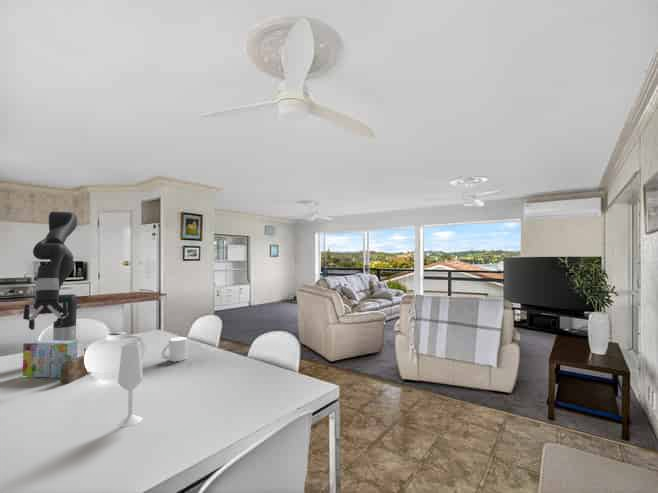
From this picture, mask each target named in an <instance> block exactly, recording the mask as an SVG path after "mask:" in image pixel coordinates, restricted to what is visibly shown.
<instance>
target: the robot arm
mask: <svg viewBox="0 0 658 493" xmlns="http://www.w3.org/2000/svg"><path fill="white" fill-rule="evenodd" d="M77 226H78V216H77V215H76V213H74V212H70V211H51V212H50V213H49V214H48V231H49V232H48V233H47V234H46V236H45V238H44V239H42V240H40V241H38V242H37V243H36V244H35V246H34V247H33V249H32V253H33V256H34V257H35V259H37V260H42V261H43V260H46V261H47V260H49V263H48V264H47V263H46V264H42V265H41V264H40V265H39V266H38V268H37V280H36V284H35V285H36V286H35V300H34V301H35V302H34V304H28V303H27V304H25V305H24V309H23V310H24V311H23V316H22V318H23V320H26V321H27V320H28V329H29V330H31V331H33V330H35V325H36V321H35V319H36V318H37V317H38V316H40V315H46V314H54V315H55V317H57V319H56V320H55V321H53V326H52V327H53V331H52V332H53V333H52V334H53V336H52V337H53V338H52V341H76V358H78V339H77V311H78V297H77V295H76V294H74V293H73V294H72V293H70V294H60V290H61V288H62V287H63V284H64V283H65V281H66V280H67V279H68V277H69V276H70V275H71V273H72V272H73V269H74V255H73V254H72V251H71V250H70V249H69V248H68V247H67V245H66V244H65V242H66V240H67V238H68V237H69V236H70V235H71V234H72V233H73V232H74V231H75V230H76V228H77ZM33 308H34V309H35V311H34V312H33V313H32V315H30V313H31V312H30V311H31V310H33Z"/></svg>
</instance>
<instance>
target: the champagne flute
mask: <svg viewBox="0 0 658 493" xmlns="http://www.w3.org/2000/svg"><path fill="white" fill-rule="evenodd" d="M141 355H142V353H141V345H140V342H139V341H132V342H130V341H129V342H125V343H122V345H121V352H120V361H119V362H120V363H119V370H118V379H117V383H118V384H119V386H120V387H121V388H123V389H124V390H126V391H128V394H127V395H128V400H127V401H128V403H127V405H128V408H127V410H128V412H127V413H128V414H127V416H126V417H124V418H123V419H122V420H120V421H119V422H118V423H117V426H118V427H122V428H125V427H131V426H132V427H133V426H134V425H137V424H139V423H141V422H142V421H143V417H141V416H138V415H136V414H133V411H134V410H133V408H134V407H133V404H134V403H133V401H134V397H133V396H134V395H133V394H134V389H136V388H137V387H138V386H139V384H141V382H142V381H143V378H144V376H143V375H144V374H143V364H142V356H141Z"/></svg>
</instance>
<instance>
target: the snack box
mask: <svg viewBox="0 0 658 493" xmlns="http://www.w3.org/2000/svg"><path fill="white" fill-rule="evenodd" d="M22 345H23V347H22V377H23V376H25V377H24V378H34V377H50V378H49V379H61V364H63V363H65V362H67V355H69V354H73V359H76V341H53V340H30V341H27V342H24V343H23V344H22ZM26 376H27V377H26Z"/></svg>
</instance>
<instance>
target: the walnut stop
mask: <svg viewBox="0 0 658 493" xmlns="http://www.w3.org/2000/svg"><path fill="white" fill-rule="evenodd" d="M87 348H88V347H86V348H84V350H83V351H84V352H83V353H84V354H83V355H81V356H79V357H78V356H77V358H76V359H73V354H69V355H67V362H65V363H63V364H61V378H60V384H61V383H64V384H66V385H67V384H70V383H73V382H75V381H77V380H79V379H81V378H83V377H85V376H88V375H90V374H89V373H88V372H87V370H86V368H85V365H84V355H85V351H86V349H87Z"/></svg>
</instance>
